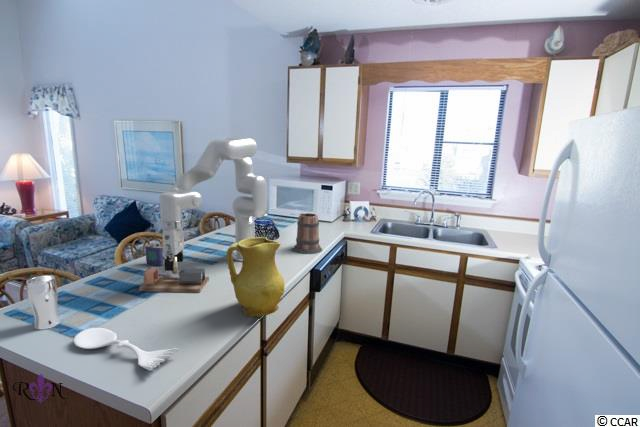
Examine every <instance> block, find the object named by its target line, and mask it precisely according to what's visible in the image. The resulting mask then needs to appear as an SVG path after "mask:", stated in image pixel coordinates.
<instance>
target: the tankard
mask: <svg viewBox="0 0 640 427" xmlns="http://www.w3.org/2000/svg"><path fill="white" fill-rule="evenodd" d="M318 216H319V215H318V214H316V213H309V212H307V213H299V215H298V219H297V222H296V223H297V230H296V231H297V232H296V233H297V234H296V237H295V238H296V239H295V242H296V244H295V245H294V246H293V248H292V251H293V252H294V253H296V254H301V255H317V254H320V253H321V252H323V248H322V247H321V245H320V237H319V234H320V233H319V226H320V221H319V217H318Z"/></svg>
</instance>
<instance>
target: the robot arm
mask: <svg viewBox="0 0 640 427" xmlns="http://www.w3.org/2000/svg"><path fill="white" fill-rule="evenodd" d="M257 151H258V144H257V142H256V141H255V140H254V139H253V138H250V137H227V138H226V139H214V140H212V141H210V142H209V143H208V145H207V146H206V148H205V149H204V151H203V152H202V154H201V155H200V158H199V159H198V160H197V163H195V165H194V166H193V167H191V168H190V169H188V170H187V171H186V172H184V173H183V174H182V175H180V177H178V178H177V180H176V181H175V183H174V184H173V185H172V187H171V189H170V190H169V191H167V192H162V193H160V195H159V209H160V226H161V228H160V229H161V230H162V247H163V252H162V255H163V259H164V265H163V266H164V272H172V271H173V270H174V264H173V261H172V259H173V256H177V263H182V262H184V249H185V245H186V244H185V236H184V231H183V227H184V226H183V211H184V210H185V211H188V210H191V211H193V210H196V209H198V208H199V207H200V206H202V204H203V196H202V195H201V194H200V193H199V192H198V191H195V190H192V188H193V187H194V186H197V184H200V183H203V182H205V181H209V180H210V179H213V177H214V176H215V175H216V173H217V172H218V170H219V169H220V167H221V165H222V163H223V161H233V164H234V169H235V170H234V172H235V174H234V176H235V177H234V178H235V180H234V181H235V189H236V191H237V192H238V193H240V194H244V195H240V196H237V197H236V198H234V200H233V202H232V210H233V215H234V227H235V233H234V234H235V243H238V242H239V241H241V240H243V239H247V238H253V237H255V236H256V234H255V232H256V231H255V230H256V229H255V224H256V223H254V220H255V219H254V218H264V217H263V216H264V215H265V214H267V210H268V183H267V180H266V179H265V178H264V176H261V175H258V174H255V173H254V165H253V160H252V157H255V155H256V154H257ZM247 195H248V196H247ZM249 195H251V196H249ZM232 257H233V261H238V262H243V256H242V255H241V254H240V252H239V251H236V250H235V253H233V254H232Z"/></svg>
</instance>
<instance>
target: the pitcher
mask: <svg viewBox="0 0 640 427" xmlns="http://www.w3.org/2000/svg"><path fill="white" fill-rule="evenodd" d="M281 245H282V244H281V243H280V242H279V241H276V240H268V239H267V236H266V237H265V236H264V237H263V236H261V237H260V236H259V237H257V236H256V237H253V238H247V239H243V240H241V241H239V242H238V243H236V242H233V243H232V244H230V246H229V247H228V248H227V250H226V259H227V263H226V264H227V266H228V267H227V268H228V271H229V275H230V282H231V284H232V285H233V290H234V293H235V298H236V301H237V302H238V304H239V305H241V306H242V309H241V310H242V311H243V313H244V314H245V315H247V316H248V317H249V316H250V317H253V318H254V317H257V318H260V317H264V316H265V317H266V316H268V315H271V314H274V313H276V312H277V311H278V309H279V305H278V304H279V303H280V302H281V301H282V300H283V299H282V297H283V296H284V295H285V294H284V293H285V280H284V278H283V275H282V274H281V273H280V271H279V269H278V267H277V264H276V258H275V257H276V252H277V250H278V249H279V248H280V246H281ZM234 251H235V252H236V251H239V252H240V254H241V255H242V256H243V261H241V263H242V264H241V268H240V271H239V273H237V271H236V266H235V262H234V259H233V253H234Z"/></svg>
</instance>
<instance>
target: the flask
mask: <svg viewBox="0 0 640 427" xmlns="http://www.w3.org/2000/svg"><path fill="white" fill-rule="evenodd" d="M156 243H157V242H151V243H150V244H145V261H146V265H147V266H153V267H156V266H157V267H163V266H165V265H164V259H163V255H162V252H163V246H157V245H156Z"/></svg>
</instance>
